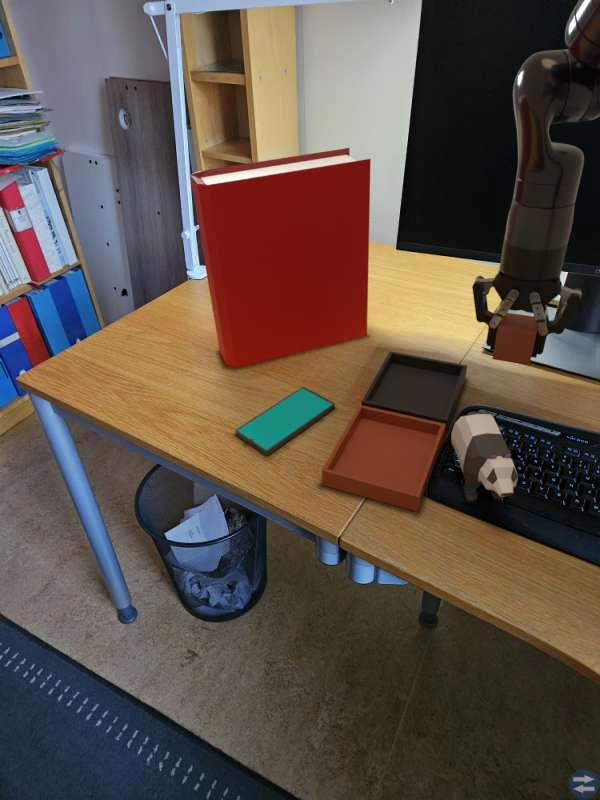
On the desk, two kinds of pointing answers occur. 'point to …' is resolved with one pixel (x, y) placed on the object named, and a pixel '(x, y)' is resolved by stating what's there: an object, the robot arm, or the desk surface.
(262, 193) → the book
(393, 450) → the terracotta tray
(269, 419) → the smartphone
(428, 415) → the charcoal tray
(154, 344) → the desk surface
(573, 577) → the desk surface
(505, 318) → the terracotta block
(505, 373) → the desk surface
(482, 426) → the giant panda
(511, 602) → the desk surface
